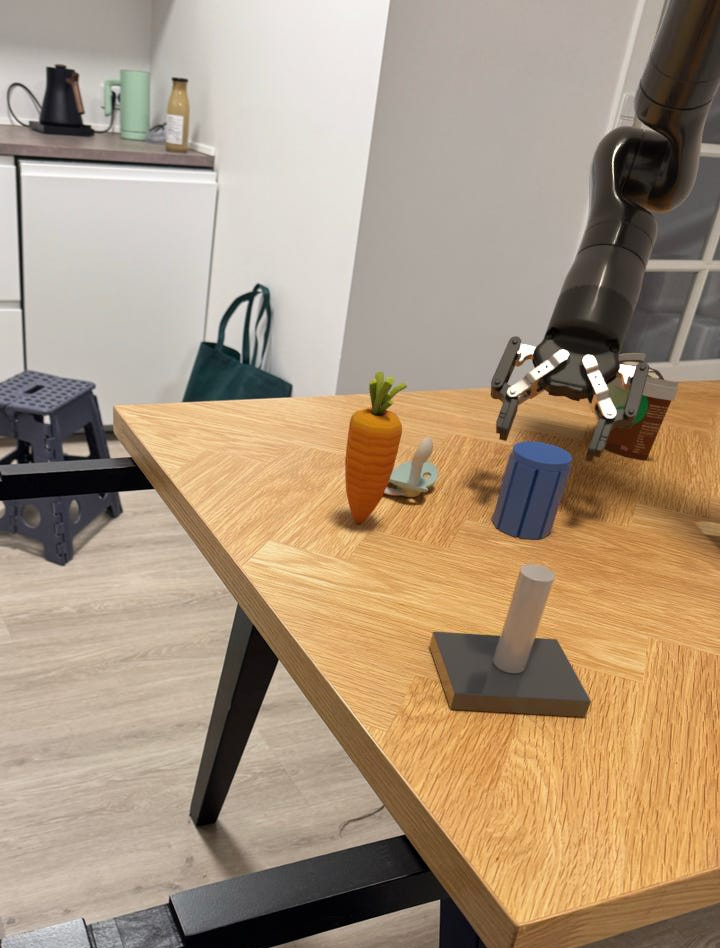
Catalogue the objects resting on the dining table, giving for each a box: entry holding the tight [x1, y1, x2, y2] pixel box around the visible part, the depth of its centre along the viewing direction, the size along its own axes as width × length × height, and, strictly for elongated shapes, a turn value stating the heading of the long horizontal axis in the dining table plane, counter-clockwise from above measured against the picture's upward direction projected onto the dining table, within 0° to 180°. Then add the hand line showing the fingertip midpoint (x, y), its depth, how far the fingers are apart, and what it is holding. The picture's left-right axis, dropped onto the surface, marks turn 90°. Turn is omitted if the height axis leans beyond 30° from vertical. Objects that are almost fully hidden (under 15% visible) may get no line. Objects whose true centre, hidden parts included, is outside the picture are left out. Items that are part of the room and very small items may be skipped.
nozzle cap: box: [491, 440, 573, 541], centre depth 88 cm, size 6×6×8 cm
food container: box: [604, 352, 679, 461], centre depth 110 cm, size 12×6×10 cm, turn 178°
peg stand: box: [429, 563, 592, 718], centre depth 65 cm, size 10×8×10 cm
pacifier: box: [384, 435, 439, 498], centre depth 94 cm, size 7×6×6 cm
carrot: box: [344, 371, 408, 525], centre depth 83 cm, size 5×5×15 cm
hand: (545, 447), depth 88 cm, fingers open, 8 cm apart
